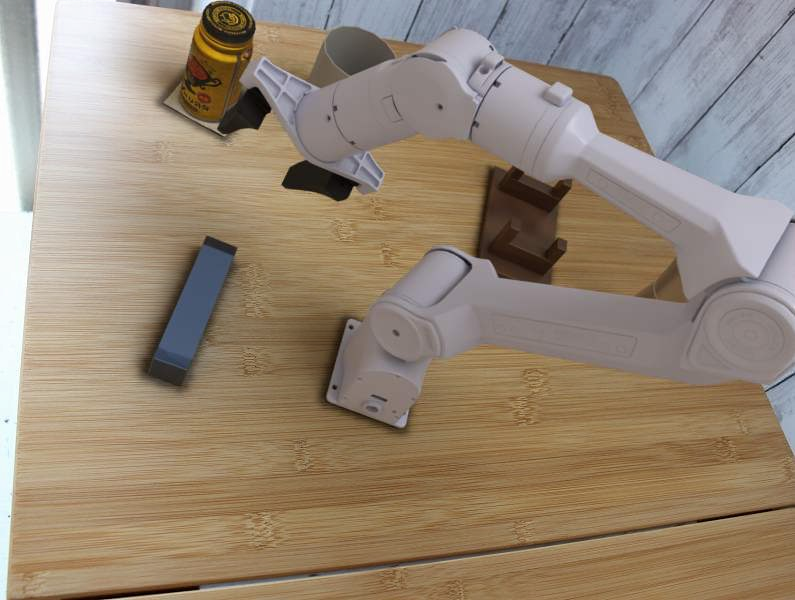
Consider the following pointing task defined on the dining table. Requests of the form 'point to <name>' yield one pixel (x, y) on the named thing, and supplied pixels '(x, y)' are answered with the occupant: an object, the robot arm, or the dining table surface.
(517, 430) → the dining table surface
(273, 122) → the dining table surface
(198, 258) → the handle
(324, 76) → the cup
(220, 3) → the condiment
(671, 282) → the plastic bottle
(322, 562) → the dining table surface
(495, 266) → the holder
